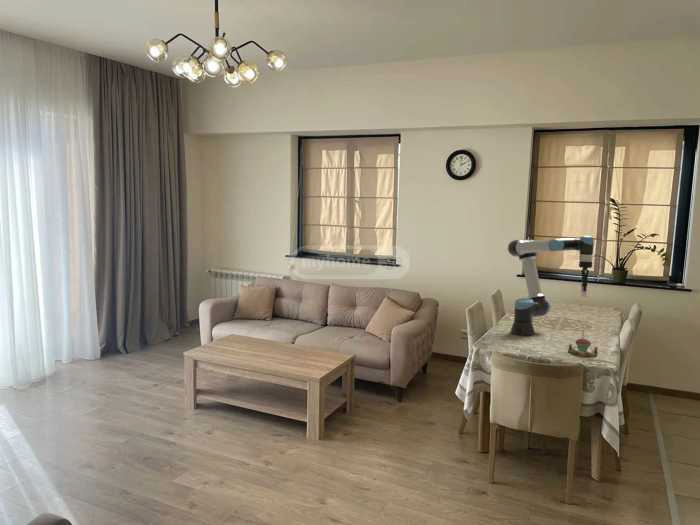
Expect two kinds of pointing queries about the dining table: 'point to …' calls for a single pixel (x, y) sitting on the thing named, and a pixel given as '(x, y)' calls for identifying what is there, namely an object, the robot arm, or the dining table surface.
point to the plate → (583, 354)
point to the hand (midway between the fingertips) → (583, 294)
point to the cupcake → (583, 343)
